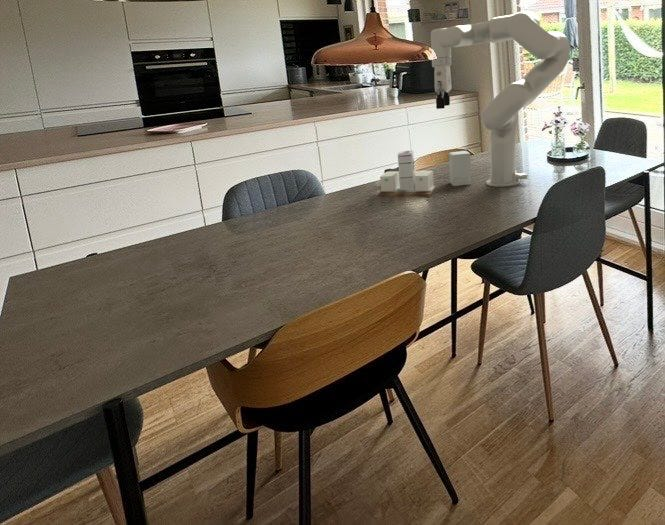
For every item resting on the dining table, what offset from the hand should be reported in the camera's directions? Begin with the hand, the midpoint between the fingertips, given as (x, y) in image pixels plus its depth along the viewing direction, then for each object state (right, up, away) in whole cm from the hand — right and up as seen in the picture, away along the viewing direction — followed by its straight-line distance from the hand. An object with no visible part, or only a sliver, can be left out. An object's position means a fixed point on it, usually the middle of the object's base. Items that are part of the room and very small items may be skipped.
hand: (443, 107), depth 228 cm
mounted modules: (-15, -33, -3) cm, 37 cm away
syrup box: (-15, -33, -3) cm, 37 cm away
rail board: (-15, -35, -2) cm, 38 cm away
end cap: (-16, -29, +16) cm, 37 cm away
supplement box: (+8, -31, +4) cm, 32 cm away
